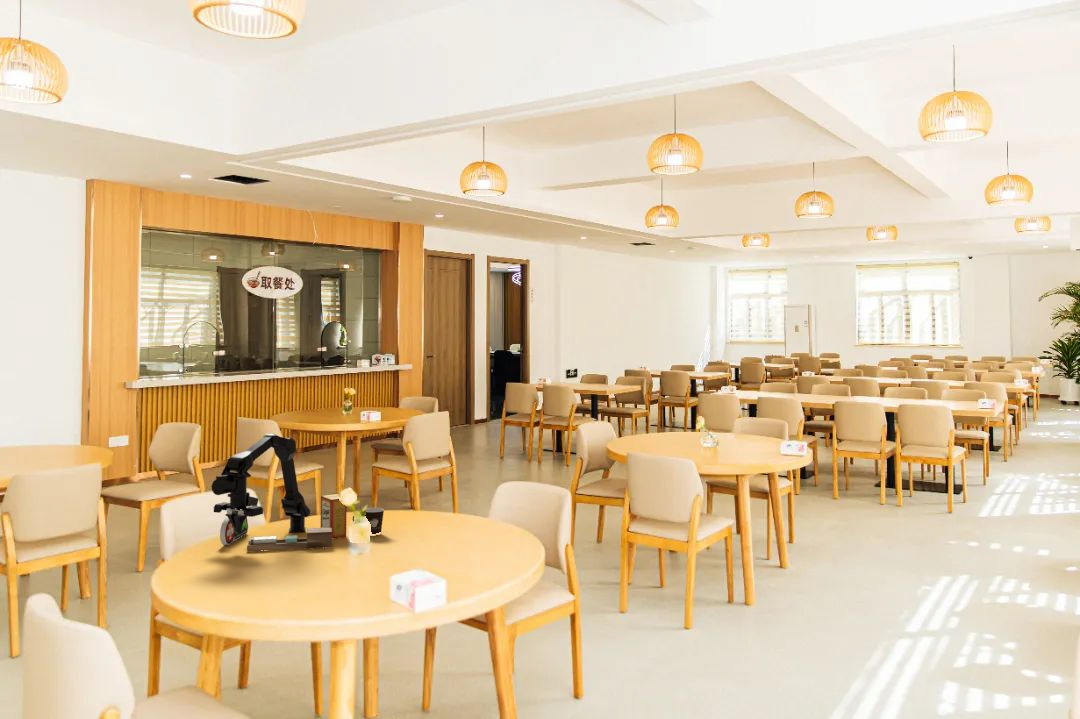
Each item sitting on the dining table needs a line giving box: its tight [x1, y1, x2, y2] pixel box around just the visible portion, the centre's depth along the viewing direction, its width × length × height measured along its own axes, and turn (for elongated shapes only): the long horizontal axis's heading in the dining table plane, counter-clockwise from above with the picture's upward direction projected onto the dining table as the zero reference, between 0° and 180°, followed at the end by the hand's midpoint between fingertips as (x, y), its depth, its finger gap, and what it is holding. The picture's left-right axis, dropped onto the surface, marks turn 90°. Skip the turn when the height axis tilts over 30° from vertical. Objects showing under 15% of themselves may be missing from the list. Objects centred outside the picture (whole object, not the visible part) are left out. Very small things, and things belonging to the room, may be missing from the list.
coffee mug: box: [352, 507, 385, 534], centre depth 315 cm, size 12×9×10 cm
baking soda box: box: [320, 493, 348, 539], centre depth 312 cm, size 10×6×16 cm
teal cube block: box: [285, 535, 299, 543], centre depth 293 cm, size 4×4×4 cm
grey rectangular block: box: [249, 535, 278, 545], centre depth 290 cm, size 4×9×4 cm, turn 106°
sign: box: [219, 516, 249, 546], centre depth 302 cm, size 22×2×10 cm, turn 179°
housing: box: [246, 527, 333, 552], centre depth 293 cm, size 7×30×6 cm, turn 106°
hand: (238, 532), depth 288 cm, fingers closed
